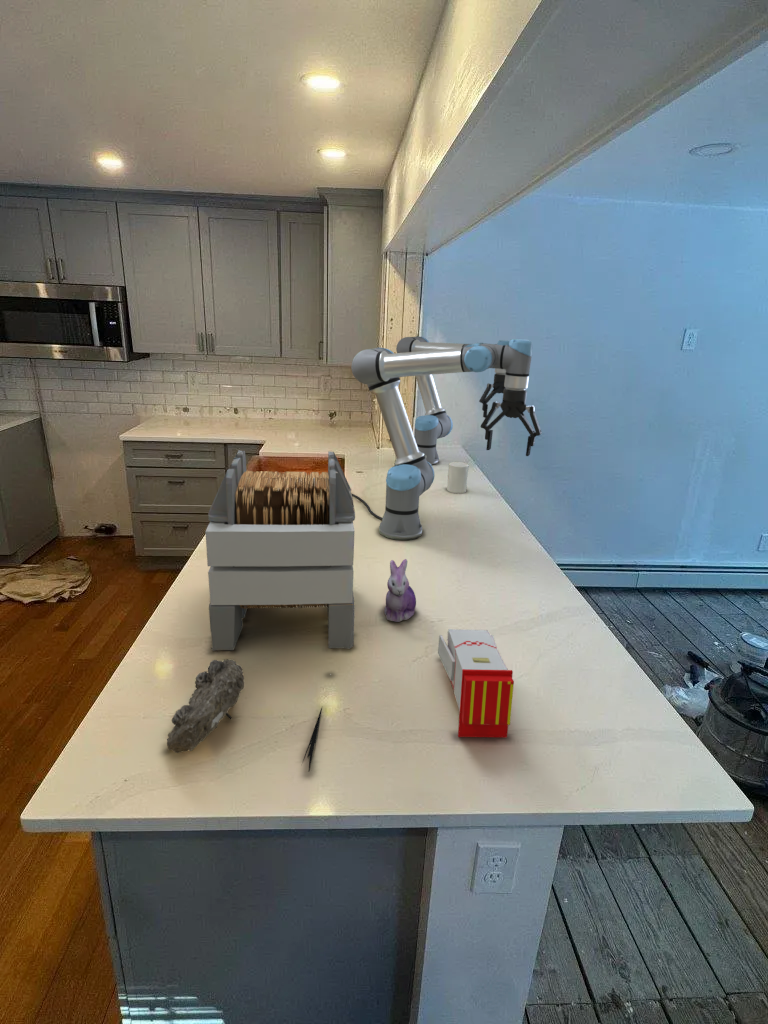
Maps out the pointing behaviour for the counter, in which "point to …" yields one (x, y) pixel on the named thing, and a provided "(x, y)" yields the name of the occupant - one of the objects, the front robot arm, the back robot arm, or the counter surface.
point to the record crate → (281, 548)
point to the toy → (478, 682)
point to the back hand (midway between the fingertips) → (497, 417)
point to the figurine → (399, 594)
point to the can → (457, 477)
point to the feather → (313, 740)
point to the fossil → (206, 705)
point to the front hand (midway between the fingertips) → (507, 452)
